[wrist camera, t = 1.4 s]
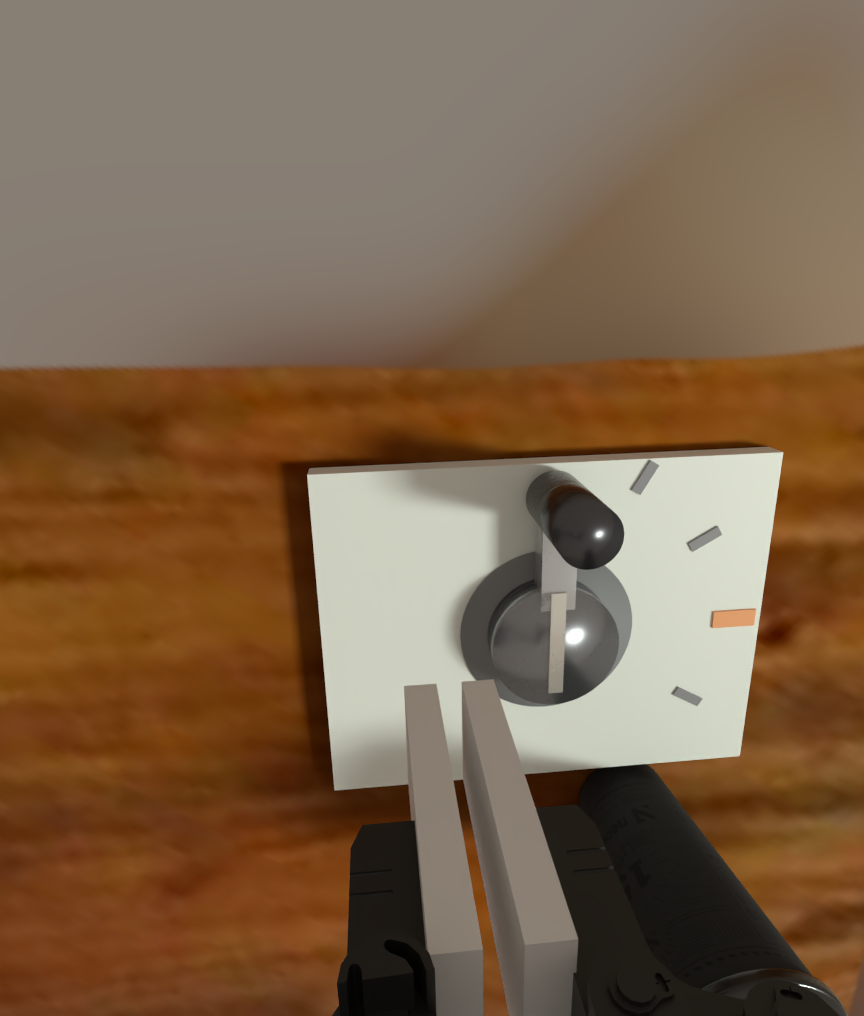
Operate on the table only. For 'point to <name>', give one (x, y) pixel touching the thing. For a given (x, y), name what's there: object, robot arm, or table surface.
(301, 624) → the table surface
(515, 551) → the board
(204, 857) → the table surface
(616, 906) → the robot arm
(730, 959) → the drinking cup
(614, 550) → the crank
